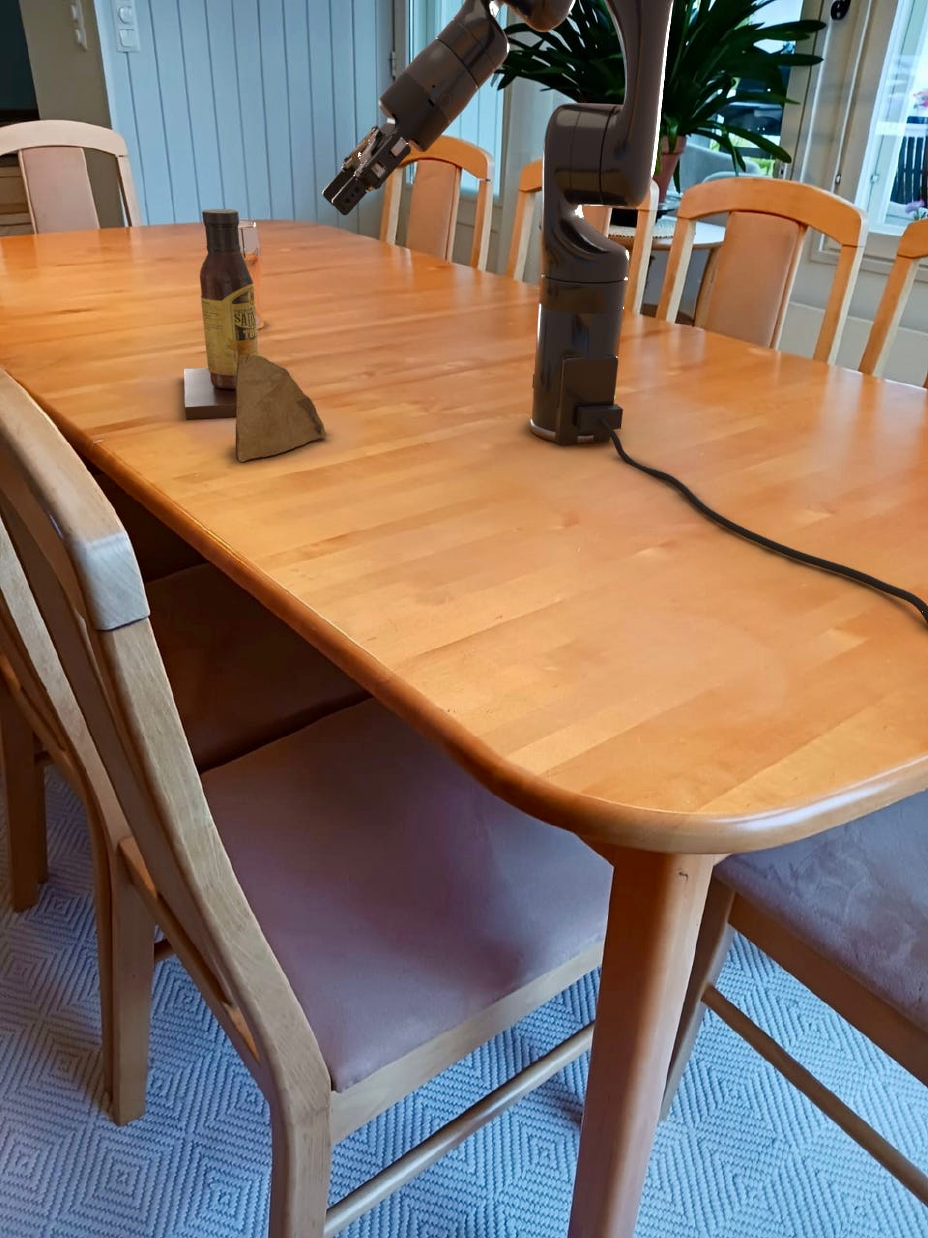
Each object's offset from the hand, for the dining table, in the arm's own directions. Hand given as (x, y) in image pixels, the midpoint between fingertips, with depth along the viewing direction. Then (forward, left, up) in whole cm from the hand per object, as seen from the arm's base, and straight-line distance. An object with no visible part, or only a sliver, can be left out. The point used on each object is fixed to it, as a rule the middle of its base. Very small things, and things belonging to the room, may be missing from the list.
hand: (332, 204), depth 110 cm
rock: (-21, +9, -22) cm, 32 cm away
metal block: (-2, +13, -22) cm, 26 cm away
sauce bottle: (-2, +13, -20) cm, 24 cm away
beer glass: (+34, +10, -22) cm, 42 cm away
